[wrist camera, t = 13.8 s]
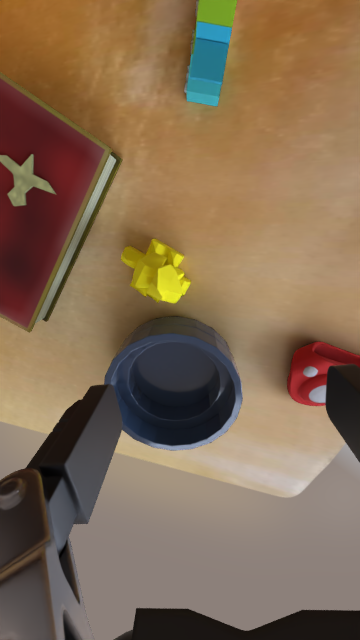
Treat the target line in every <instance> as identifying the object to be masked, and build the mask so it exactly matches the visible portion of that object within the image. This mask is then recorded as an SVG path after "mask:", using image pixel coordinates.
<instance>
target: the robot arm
mask: <svg viewBox="0 0 360 640" xmlns="http://www.w3.org/2000/svg"><path fill="white" fill-rule="evenodd" d="M325 405H326V410H327V413H328V416H329V418H330V420H331V421H332V423H333V424H334V426H335V427H336V429H337V430H338V432H339V433H340V434H341V436H342V437H343V439H344V440H345V442H346V443H347V445H348V446H349V447H350V449H351V450H352V452H353V453H354V455H355V456H356V458H357V459H358V461H359V462H360V368H359V367H358V366H357V365H355V364H346V365H334V366H330V367H329V368H328V371H327V384H326V399H325ZM121 430H122V415H121V412H120V408H119V404H118V401H117V397H116V393H115V390H114V387H113V385H112V384H106V385H95V386H91V387H90V388H89V390H88V391H87V393H86V394H85V396H84V397H83V399H82V400H78V401H77V402H75V403H74V404H73V405H72V406H71V407H69V408H68V409H67V410H66V411H65V413H64V414H63V416H62V417H61V419H60V420H59V423H57V424H56V426H55V427H54V428H53V432H51V433H50V434H49V436H48V437H47V439H46V440H45V441H44V443H43V444H42V446H41V447H40V448H39V450H38V451H37V453H36V454H35V456H34V457H33V458H32V460H31V461H30V463H29V464H28V465H27V467H26V468H25V469H21V470H18V471H15V472H13V473H11V474H9V475H7V476H6V477H5V478H3V479H1V480H0V640H94V636H93V633H92V630H91V627H90V624H89V621H88V618H87V614H86V611H85V606H84V602H83V597H82V593H81V588H80V583H79V579H78V574H77V570H76V566H75V561H74V556H73V552H72V548H71V542H70V539H69V537H68V536H69V534H70V531H71V529H72V527H73V524H88V522H89V519H90V516H91V514H92V511H93V508H94V505H95V503H96V500H97V497H98V494H99V491H100V489H101V486H102V483H103V481H104V478H105V475H106V472H107V470H108V467H109V464H110V461H111V459H112V456H113V453H114V450H115V448H116V445H117V442H118V439H119V437H120V434H121ZM114 640H360V611H341V610H339V611H338V610H301V611H299V612H296V613H293V614H291V615H289V616H286V617H283V618H281V619H278V620H276V621H273V622H271V623H268V624H266V625H263V626H261V627H258V628H256V629H253V630H250V631H244V630H240V629H237V628H235V627H232V626H230V625H227V624H224V623H222V622H220V621H217V620H214V619H212V618H210V617H207V616H205V615H202V614H200V613H197V612H195V611H192V610H189V609H152V608H137V609H136V614H135V621H134V627H133V630H131V631H128V632H126V633H124V634H122V635H121V636H119V637H118V638H116V639H114Z"/></svg>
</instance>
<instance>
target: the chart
mask: <svg viewBox="0 0 360 640" xmlns="http://www.w3.org/2000/svg"><path fill="white" fill-rule="evenodd" d="M236 3H237V0H197V1H196V9H195V15H196V17H197V18H196V25H195V30H192V32H193V33H192V40H191V53H190V54H191V61H190V66H189V65H188V73H187V74H186V83H185V90H184V92H185V93H186V94H187V101H190V102H196V103H201V104H207V105H212V106H217V105H218V101H219V96H220V90H221V85H222V81H223V76H224V70H225V64H226V58H227V53H228V47H229V41H230V36H231V31H232V25H233V19H234V14H235V9H236Z"/></svg>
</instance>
